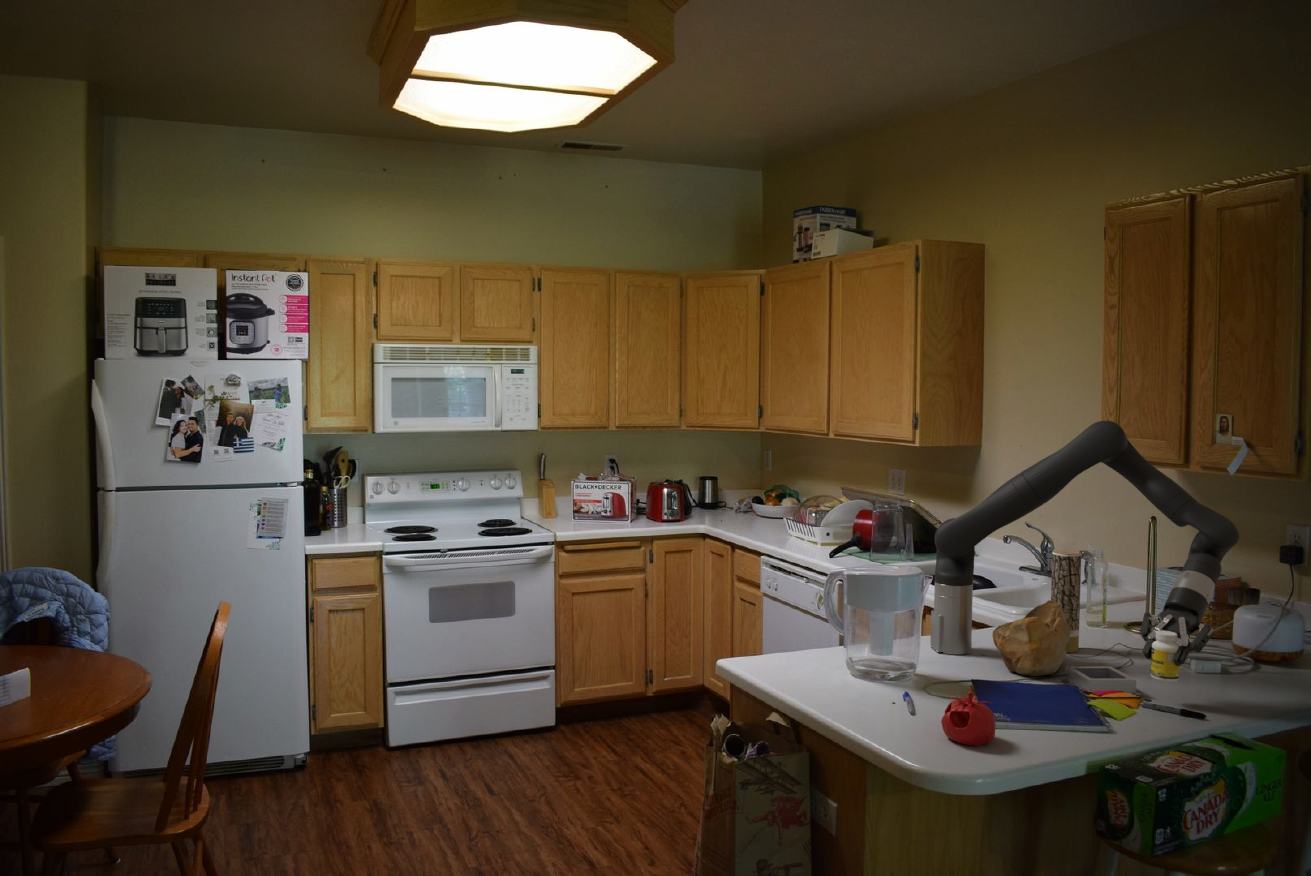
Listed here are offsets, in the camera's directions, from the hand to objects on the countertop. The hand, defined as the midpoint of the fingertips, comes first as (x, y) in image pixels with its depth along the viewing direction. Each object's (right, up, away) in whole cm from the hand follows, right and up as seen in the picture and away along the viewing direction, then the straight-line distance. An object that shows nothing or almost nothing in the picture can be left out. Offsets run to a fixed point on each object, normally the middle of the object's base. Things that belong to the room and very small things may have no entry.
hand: (1161, 660), depth 203 cm
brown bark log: (-2, -8, +44) cm, 45 cm away
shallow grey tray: (-8, -9, +11) cm, 16 cm away
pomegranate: (-47, -10, -21) cm, 53 cm away
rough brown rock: (-17, -8, +29) cm, 35 cm away
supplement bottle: (+1, -4, +1) cm, 5 cm away
